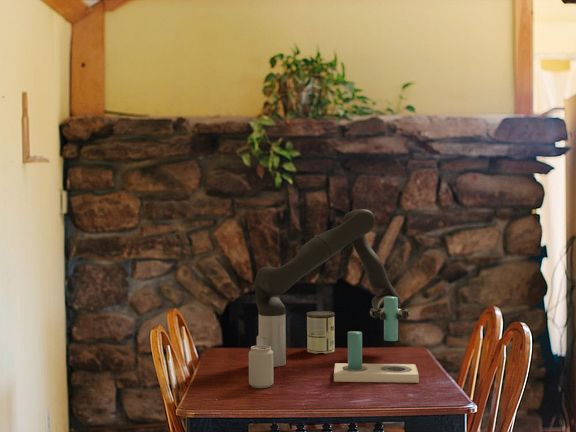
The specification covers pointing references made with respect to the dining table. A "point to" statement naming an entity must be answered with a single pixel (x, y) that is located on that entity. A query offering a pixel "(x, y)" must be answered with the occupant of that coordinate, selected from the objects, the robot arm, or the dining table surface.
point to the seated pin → (354, 350)
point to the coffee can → (320, 332)
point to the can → (261, 366)
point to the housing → (377, 373)
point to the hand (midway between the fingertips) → (391, 316)
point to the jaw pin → (391, 318)
